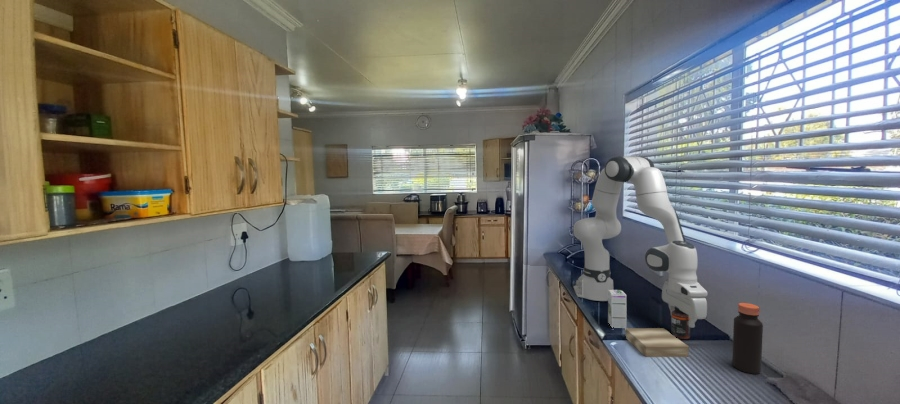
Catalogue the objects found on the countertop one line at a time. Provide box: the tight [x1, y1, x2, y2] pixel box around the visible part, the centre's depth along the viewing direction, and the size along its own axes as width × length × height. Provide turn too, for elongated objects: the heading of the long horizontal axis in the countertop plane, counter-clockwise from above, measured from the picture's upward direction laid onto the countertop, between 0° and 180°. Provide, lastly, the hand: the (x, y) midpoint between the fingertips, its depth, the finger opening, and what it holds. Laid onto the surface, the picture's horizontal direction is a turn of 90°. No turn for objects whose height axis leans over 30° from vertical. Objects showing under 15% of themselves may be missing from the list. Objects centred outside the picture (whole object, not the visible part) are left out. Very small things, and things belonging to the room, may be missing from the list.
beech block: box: [624, 327, 690, 358], centre depth 120 cm, size 14×14×4 cm
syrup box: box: [607, 289, 628, 328], centre depth 136 cm, size 6×6×14 cm
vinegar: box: [731, 302, 764, 375], centre depth 105 cm, size 7×7×20 cm
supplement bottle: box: [670, 306, 691, 340], centre depth 127 cm, size 6×6×11 cm
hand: (682, 321), depth 127 cm, fingers open, 8 cm apart
